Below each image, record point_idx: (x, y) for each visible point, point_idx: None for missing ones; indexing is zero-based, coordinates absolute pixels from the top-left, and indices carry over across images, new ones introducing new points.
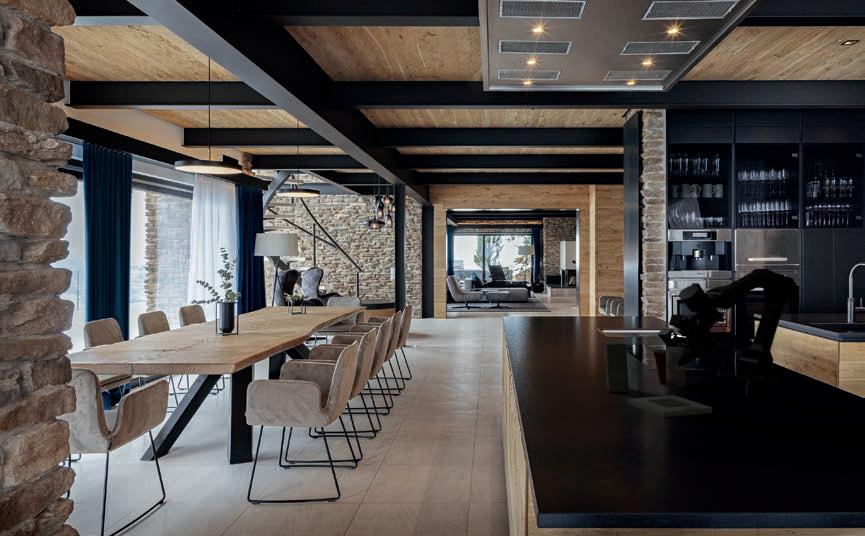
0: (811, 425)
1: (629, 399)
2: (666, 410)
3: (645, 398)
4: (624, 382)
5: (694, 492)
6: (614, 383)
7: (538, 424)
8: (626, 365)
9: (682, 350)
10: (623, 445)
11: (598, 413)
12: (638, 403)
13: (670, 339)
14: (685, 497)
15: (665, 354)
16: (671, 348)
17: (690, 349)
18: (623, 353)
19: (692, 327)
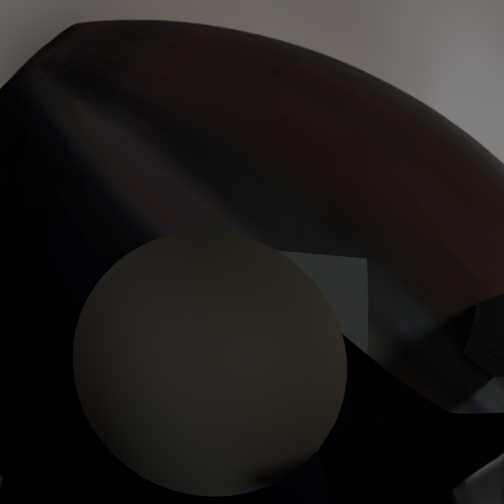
0: None
1: (360, 258)
2: None
3: (356, 319)
4: (485, 339)
5: (6, 96)
6: (489, 311)
7: (252, 40)
8: None
9: (80, 356)
10: (101, 81)
11: (286, 130)
12: (311, 254)
13: (453, 448)
14: (10, 87)
15: (346, 338)
16: (184, 264)
17: (9, 389)
18: None
19: None
